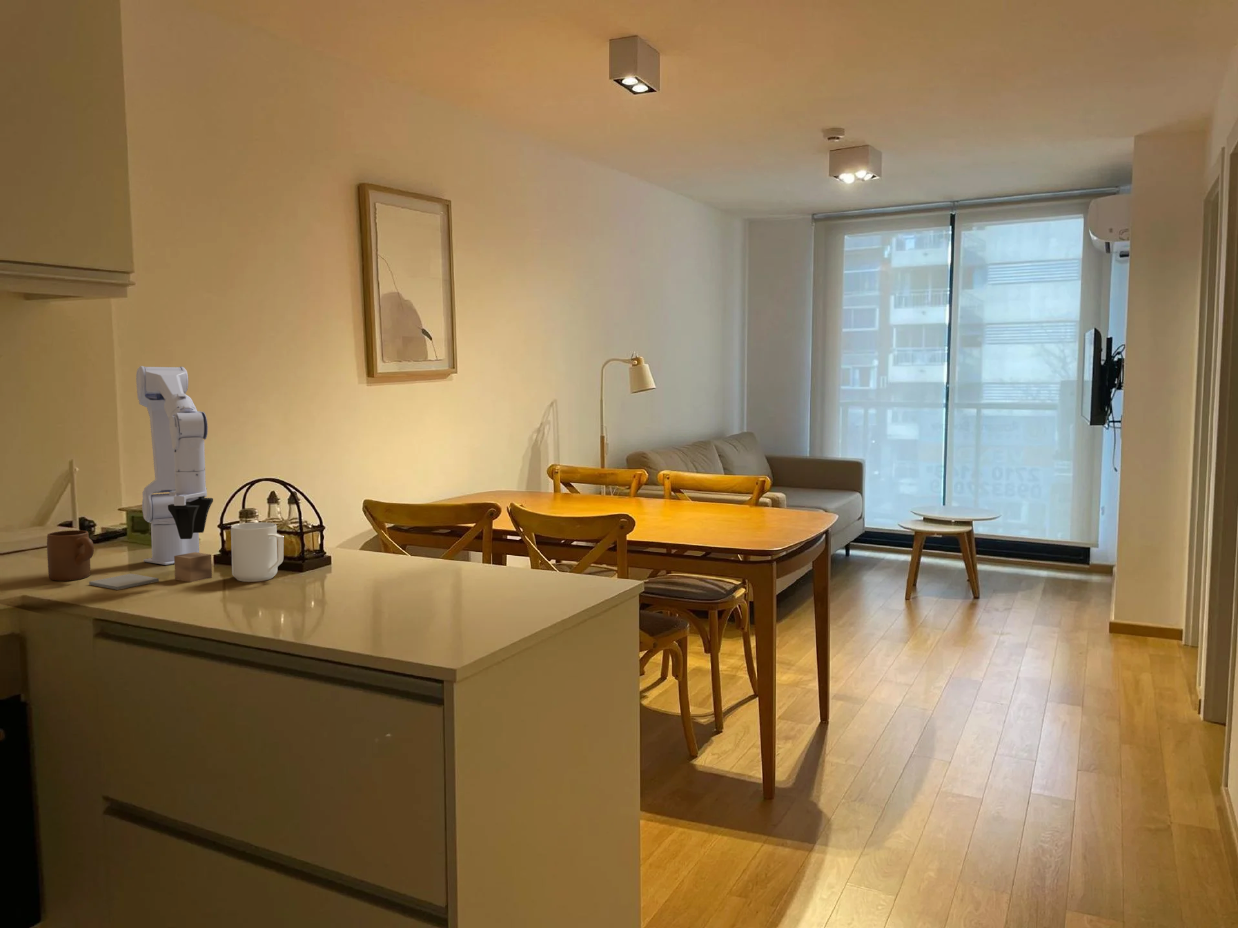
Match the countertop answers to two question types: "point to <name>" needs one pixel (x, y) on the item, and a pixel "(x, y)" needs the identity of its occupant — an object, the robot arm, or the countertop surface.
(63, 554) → the mug
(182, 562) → the walnut block
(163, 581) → the countertop surface
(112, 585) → the slate coaster
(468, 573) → the countertop surface
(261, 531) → the mug
